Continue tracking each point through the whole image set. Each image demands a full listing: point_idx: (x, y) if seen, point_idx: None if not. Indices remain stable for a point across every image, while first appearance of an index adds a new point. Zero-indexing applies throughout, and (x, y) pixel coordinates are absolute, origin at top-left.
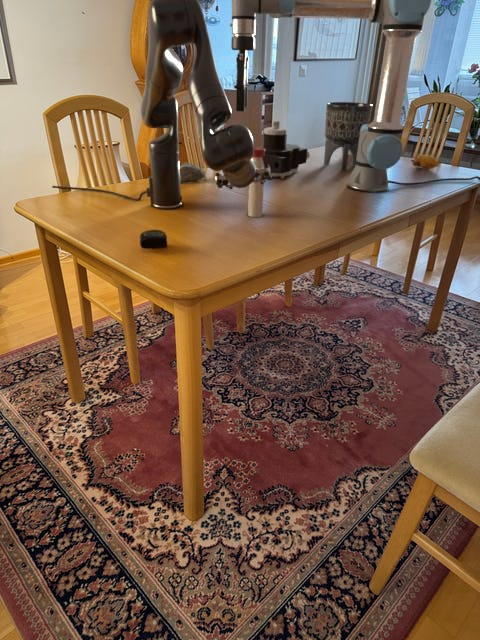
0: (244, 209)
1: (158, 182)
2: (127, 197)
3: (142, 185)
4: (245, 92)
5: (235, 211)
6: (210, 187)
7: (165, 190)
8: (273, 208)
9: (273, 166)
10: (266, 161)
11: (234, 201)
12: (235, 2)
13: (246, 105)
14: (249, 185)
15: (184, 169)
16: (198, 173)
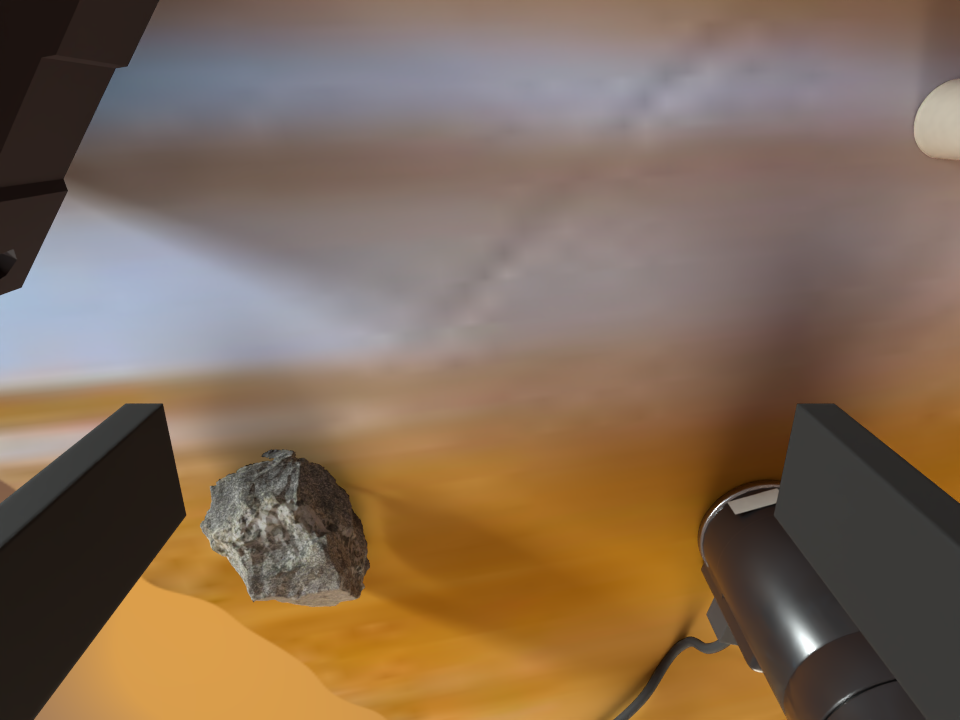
0: (840, 184)
1: None
2: (659, 681)
3: (437, 674)
4: (2, 598)
5: (872, 229)
6: (415, 400)
7: None
8: (832, 9)
9: (130, 3)
10: (72, 68)
11: (687, 249)
12: None
13: (147, 425)
14: None
15: (346, 573)
16: (310, 496)
